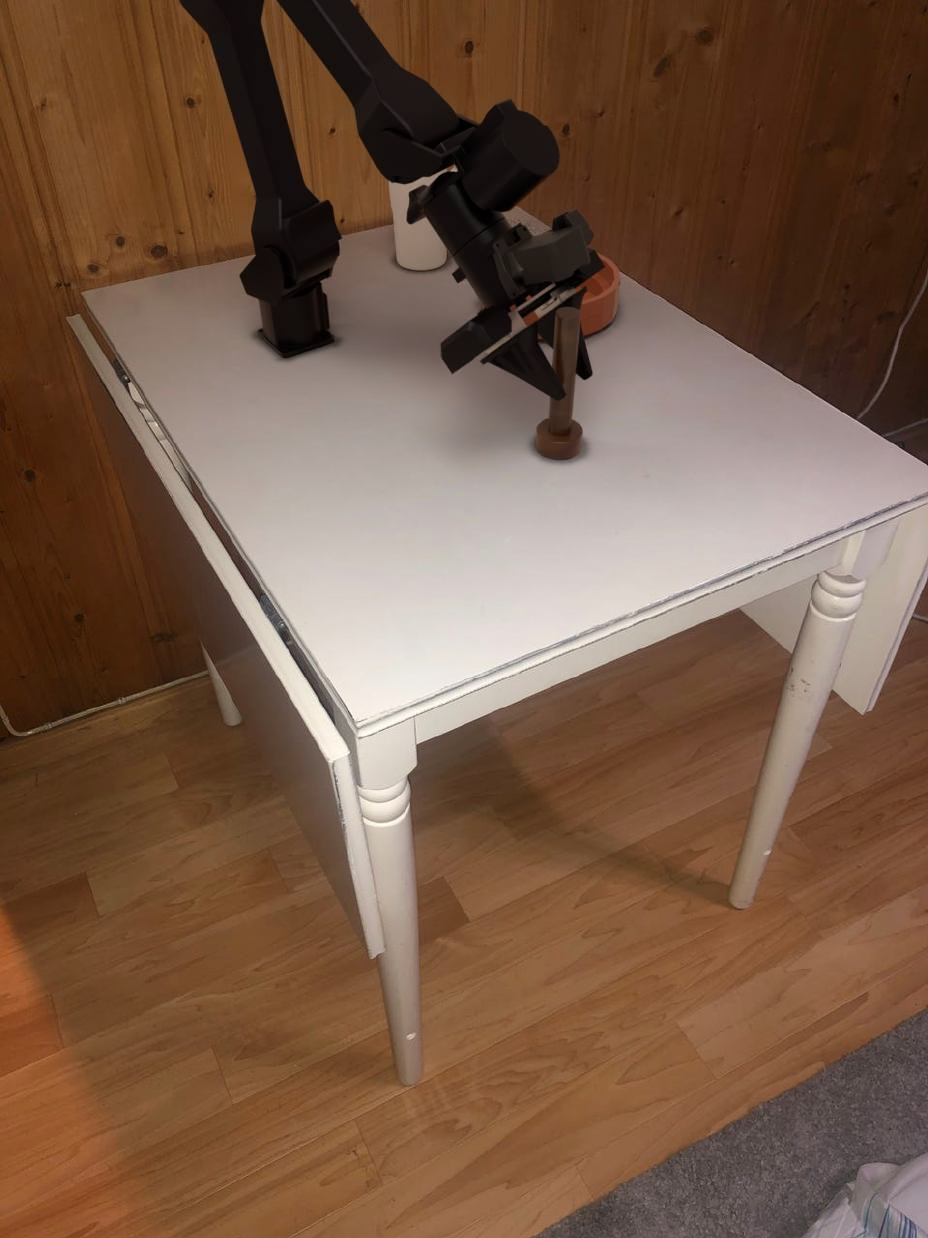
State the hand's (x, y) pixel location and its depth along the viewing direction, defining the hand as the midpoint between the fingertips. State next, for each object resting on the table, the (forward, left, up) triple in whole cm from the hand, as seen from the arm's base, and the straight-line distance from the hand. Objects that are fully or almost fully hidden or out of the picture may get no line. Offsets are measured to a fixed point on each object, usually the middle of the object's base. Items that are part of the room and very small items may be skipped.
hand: (575, 388), depth 92 cm
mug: (+11, +44, -7) cm, 46 cm away
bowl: (+16, +23, -7) cm, 29 cm away
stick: (0, +1, -7) cm, 7 cm away
